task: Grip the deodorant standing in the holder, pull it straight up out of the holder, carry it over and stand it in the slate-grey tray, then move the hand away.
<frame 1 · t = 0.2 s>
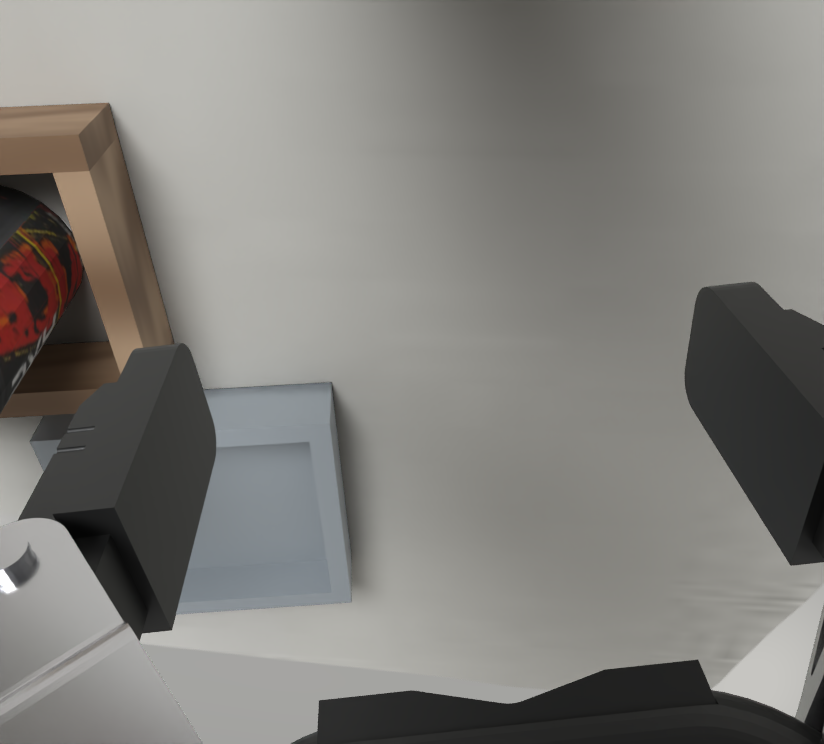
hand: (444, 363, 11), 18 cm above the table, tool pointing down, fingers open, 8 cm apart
deodorant: (7, 251, 29), resting in holder
holder: (5, 253, 29), on the table
tray: (219, 487, 37), on the table
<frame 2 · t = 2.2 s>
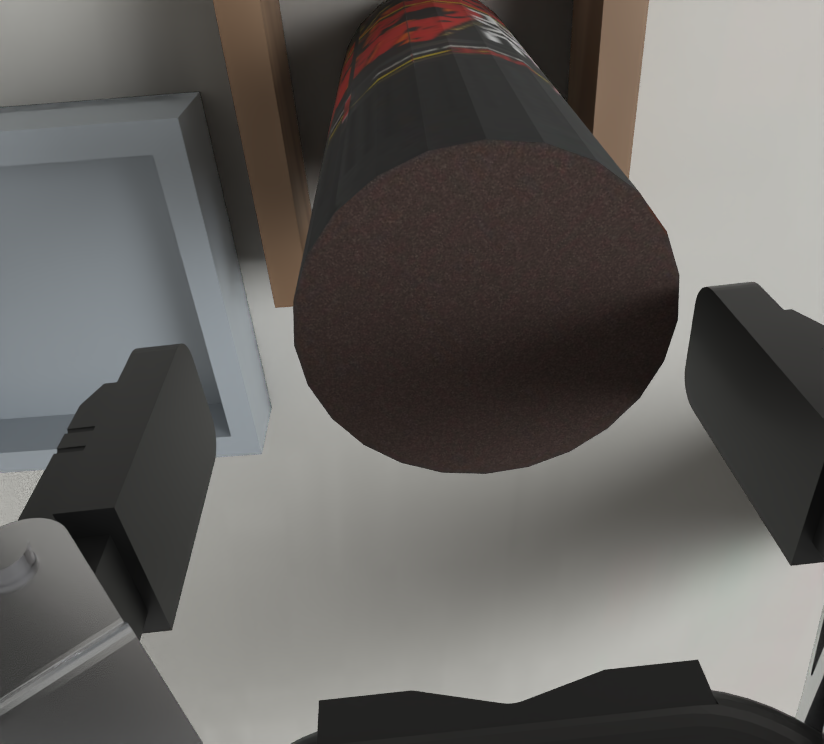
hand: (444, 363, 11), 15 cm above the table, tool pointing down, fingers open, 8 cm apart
deodorant: (430, 88, 23), resting in holder
holder: (431, 90, 23), on the table
tray: (69, 284, 27), on the table
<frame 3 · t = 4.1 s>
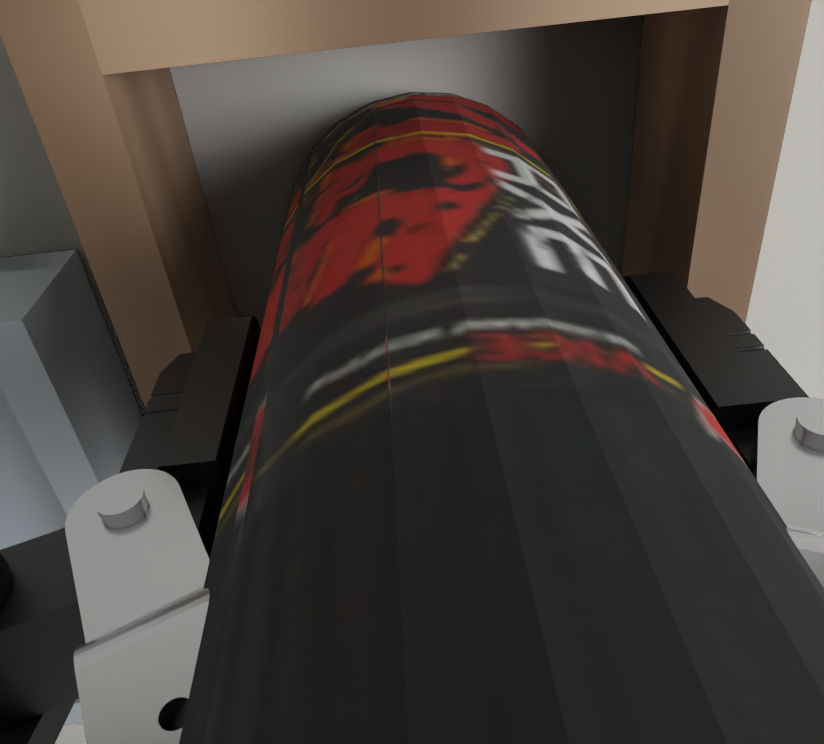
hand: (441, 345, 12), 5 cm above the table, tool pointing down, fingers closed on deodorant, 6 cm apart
deodorant: (422, 229, 16), resting in holder, touching gripper
holder: (423, 232, 16), on the table
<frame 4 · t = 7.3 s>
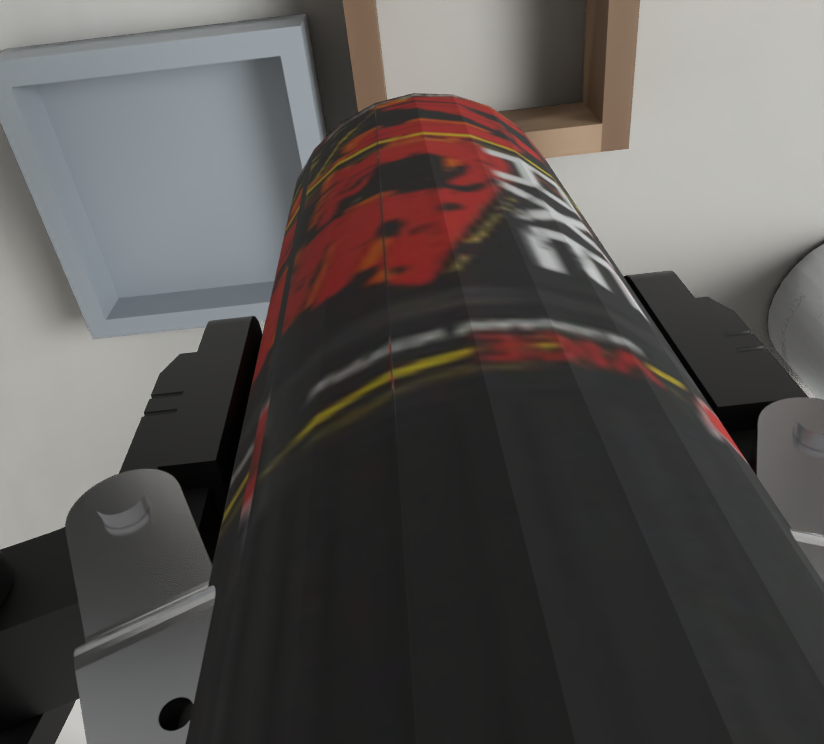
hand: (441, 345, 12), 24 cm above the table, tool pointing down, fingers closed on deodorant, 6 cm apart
deodorant: (423, 230, 16), point 19 cm above the table, touching gripper
holder: (481, 5, 30), on the table
tray: (197, 178, 34), on the table
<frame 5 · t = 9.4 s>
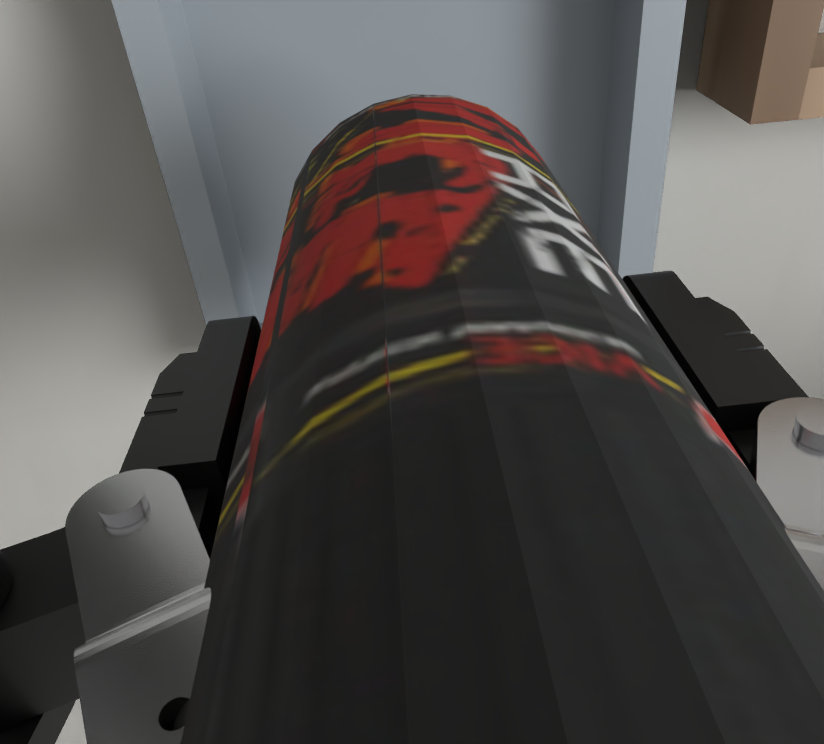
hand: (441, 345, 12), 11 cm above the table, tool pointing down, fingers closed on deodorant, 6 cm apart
deodorant: (422, 231, 16), point 6 cm above the table, touching gripper
tray: (411, 128, 21), on the table
when the fingers open (7 cm above the table, at t = 10.8 s): deodorant drops 2 cm, resting on tray.
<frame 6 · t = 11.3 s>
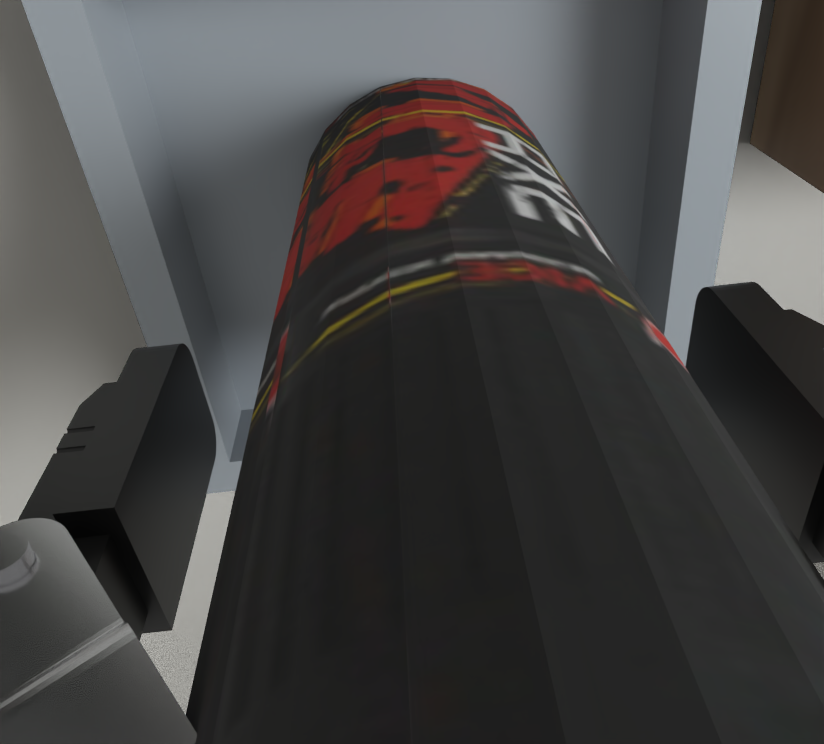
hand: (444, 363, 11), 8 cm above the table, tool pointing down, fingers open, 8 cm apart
deodorant: (426, 205, 17), point 1 cm above the table, touching tray
tray: (414, 192, 18), on the table
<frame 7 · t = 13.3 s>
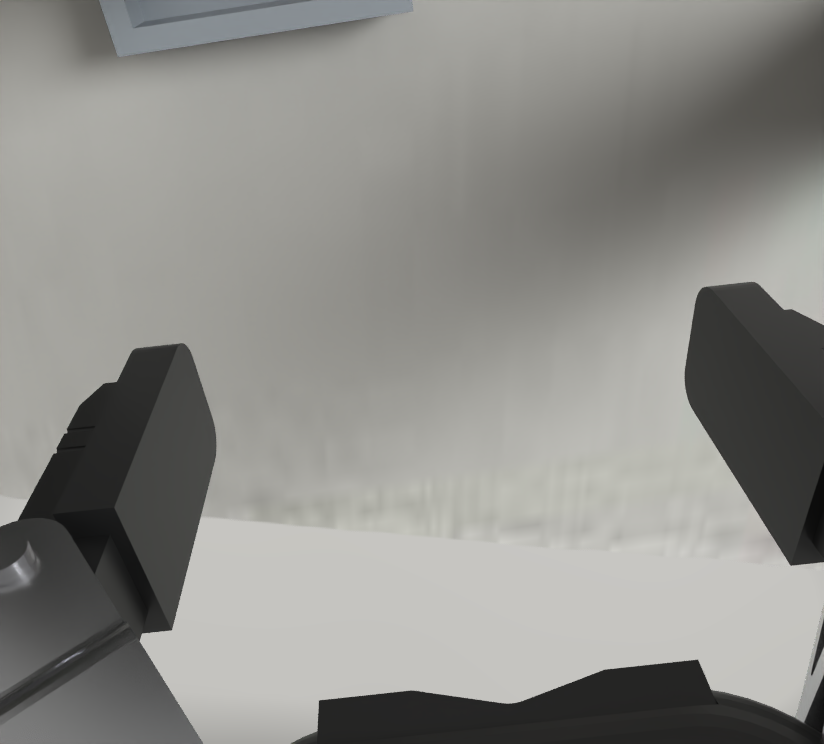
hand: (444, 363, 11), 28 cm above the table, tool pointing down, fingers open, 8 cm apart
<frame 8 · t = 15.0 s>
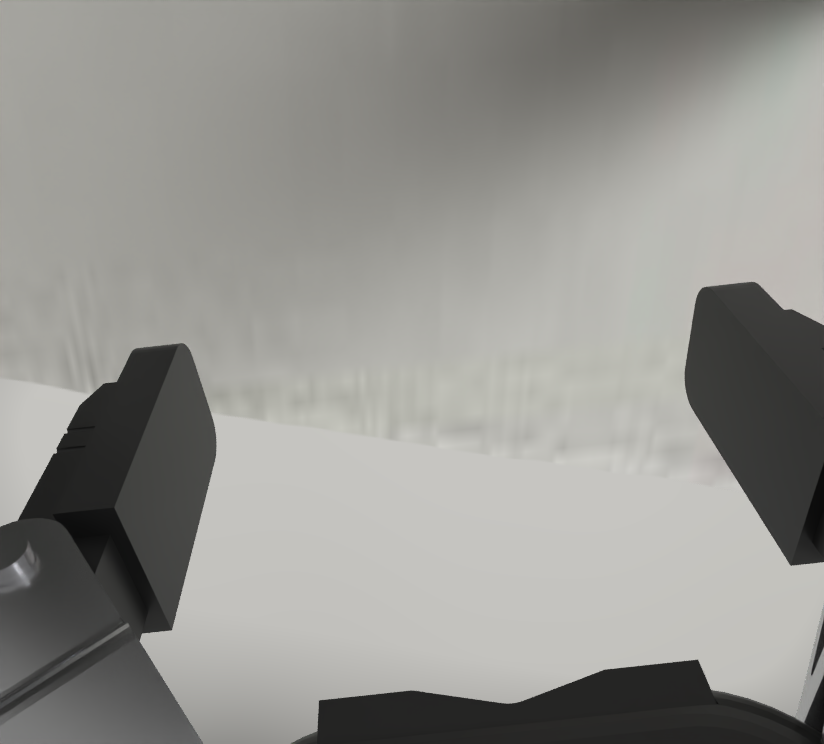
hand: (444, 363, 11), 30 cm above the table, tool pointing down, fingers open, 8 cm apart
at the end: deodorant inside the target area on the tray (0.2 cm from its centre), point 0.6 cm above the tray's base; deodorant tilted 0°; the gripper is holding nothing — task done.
